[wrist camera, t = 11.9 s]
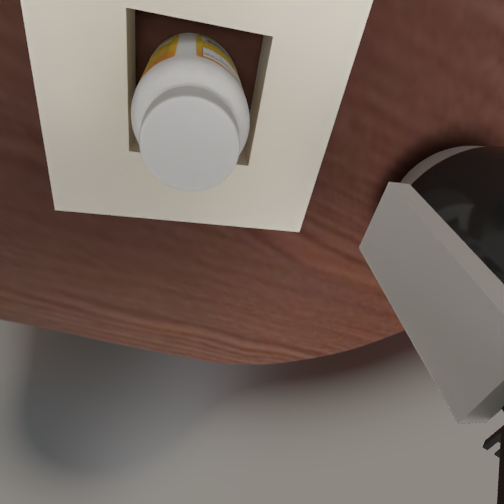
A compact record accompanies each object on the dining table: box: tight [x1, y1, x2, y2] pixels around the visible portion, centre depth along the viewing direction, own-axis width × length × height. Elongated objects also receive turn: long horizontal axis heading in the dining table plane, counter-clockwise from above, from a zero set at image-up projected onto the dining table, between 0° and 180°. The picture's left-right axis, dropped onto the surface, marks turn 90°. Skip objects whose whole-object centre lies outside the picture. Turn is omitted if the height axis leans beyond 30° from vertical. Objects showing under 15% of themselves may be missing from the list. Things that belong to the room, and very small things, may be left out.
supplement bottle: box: [131, 33, 250, 192], centre depth 18 cm, size 5×5×10 cm
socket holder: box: [20, 0, 373, 232], centre depth 21 cm, size 16×16×3 cm
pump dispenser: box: [400, 146, 504, 280], centre depth 23 cm, size 10×10×15 cm
